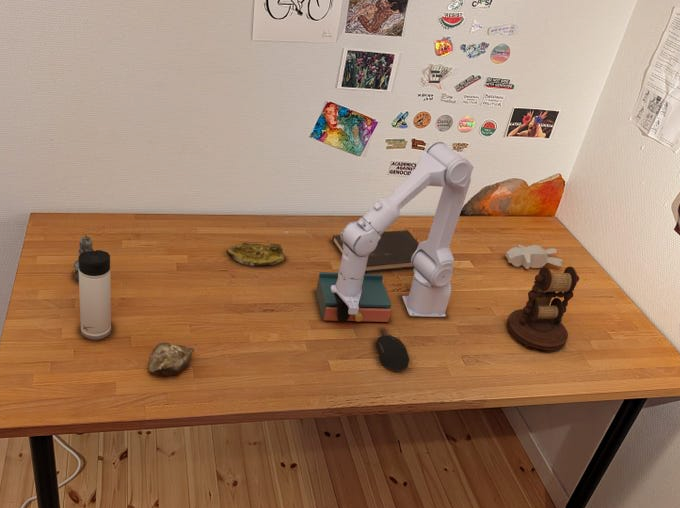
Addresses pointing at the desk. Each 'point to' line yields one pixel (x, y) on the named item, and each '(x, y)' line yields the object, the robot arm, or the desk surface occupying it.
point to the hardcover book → (388, 251)
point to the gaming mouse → (392, 352)
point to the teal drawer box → (370, 294)
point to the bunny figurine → (532, 256)
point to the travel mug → (95, 294)
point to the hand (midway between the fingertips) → (342, 320)
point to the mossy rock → (256, 254)
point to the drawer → (361, 314)
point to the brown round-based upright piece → (544, 310)
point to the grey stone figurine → (84, 246)
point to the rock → (169, 358)
